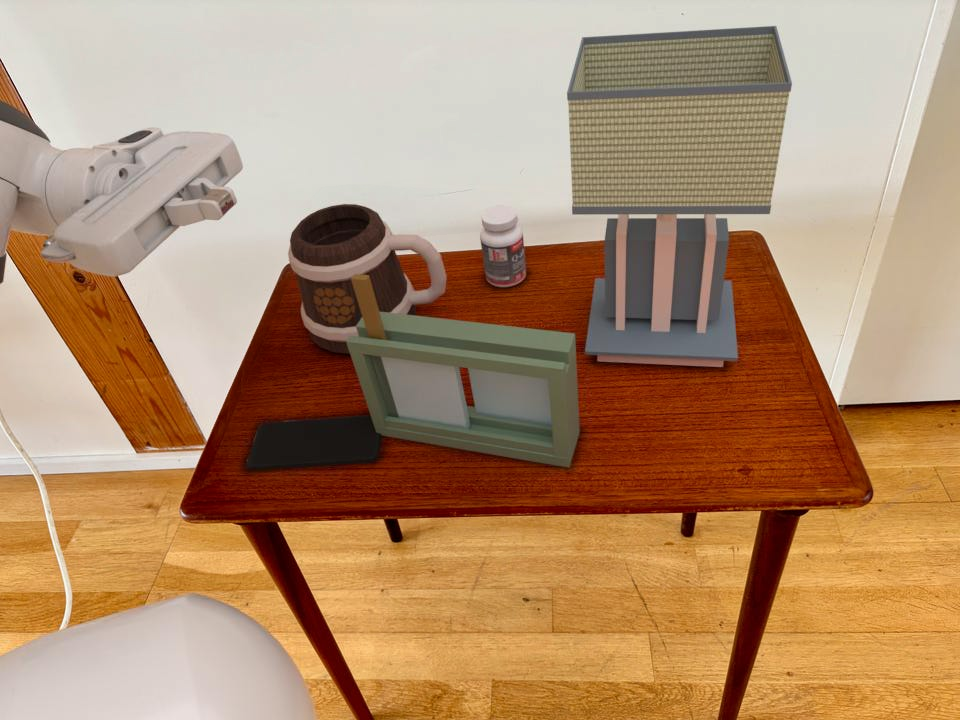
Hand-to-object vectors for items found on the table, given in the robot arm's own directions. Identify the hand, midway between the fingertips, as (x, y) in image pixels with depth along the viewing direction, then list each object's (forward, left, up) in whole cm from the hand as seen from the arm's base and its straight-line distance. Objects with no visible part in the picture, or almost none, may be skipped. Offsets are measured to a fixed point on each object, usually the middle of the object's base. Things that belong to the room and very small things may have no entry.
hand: (226, 203), depth 65 cm
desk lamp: (+21, -37, -28) cm, 51 cm away
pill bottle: (+29, -15, -28) cm, 43 cm away
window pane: (0, -15, -26) cm, 30 cm away
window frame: (+1, -20, -28) cm, 34 cm away
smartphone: (-4, -3, -29) cm, 29 cm away
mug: (+17, -1, -28) cm, 33 cm away
